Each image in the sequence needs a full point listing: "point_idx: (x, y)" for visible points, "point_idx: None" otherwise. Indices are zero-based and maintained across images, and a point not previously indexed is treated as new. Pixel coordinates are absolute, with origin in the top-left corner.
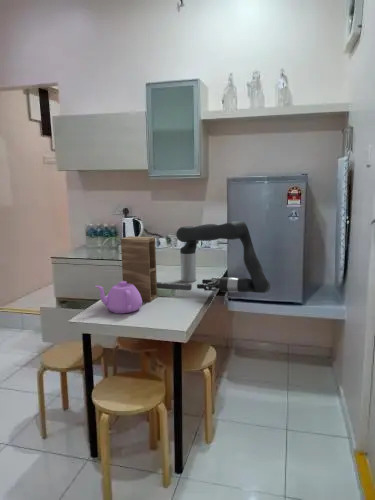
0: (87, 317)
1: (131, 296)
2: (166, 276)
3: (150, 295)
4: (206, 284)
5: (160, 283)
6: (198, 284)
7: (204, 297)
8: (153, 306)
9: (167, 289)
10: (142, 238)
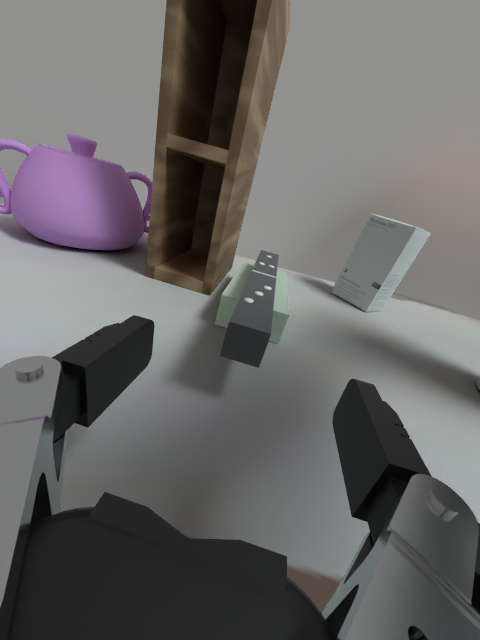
0: None
1: (19, 172)
2: (475, 346)
3: (151, 252)
4: (5, 393)
5: (258, 261)
6: (126, 320)
7: (184, 521)
8: (78, 271)
9: (234, 289)
10: None
